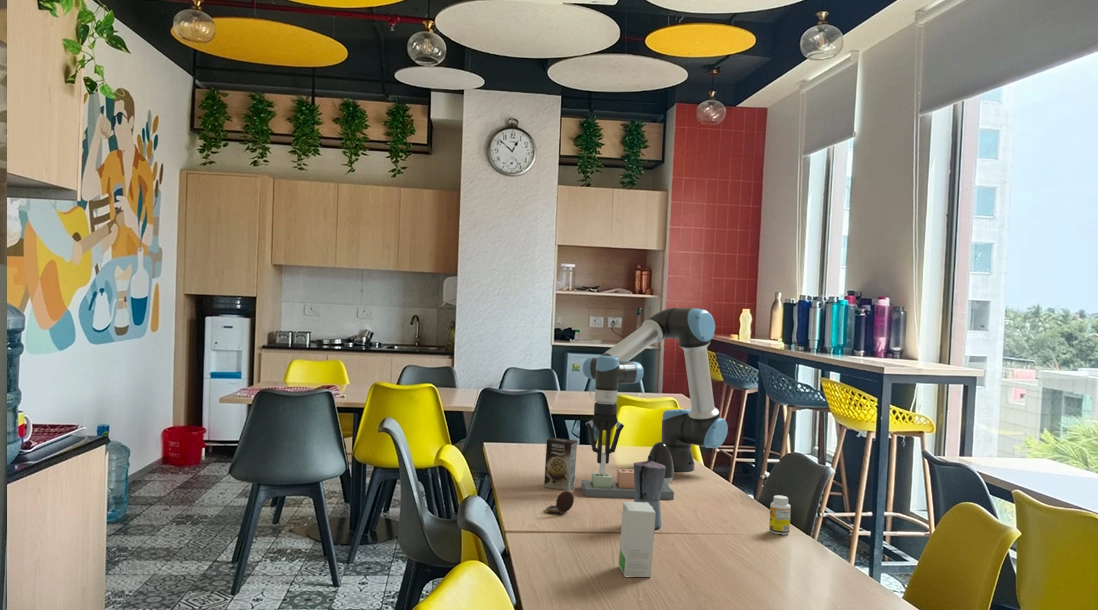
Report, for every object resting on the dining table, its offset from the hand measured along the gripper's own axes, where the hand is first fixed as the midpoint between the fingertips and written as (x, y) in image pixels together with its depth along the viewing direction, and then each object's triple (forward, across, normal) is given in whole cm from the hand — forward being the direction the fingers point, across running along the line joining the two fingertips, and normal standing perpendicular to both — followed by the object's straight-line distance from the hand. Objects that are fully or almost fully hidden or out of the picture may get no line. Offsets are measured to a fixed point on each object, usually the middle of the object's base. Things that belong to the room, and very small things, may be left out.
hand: (602, 473), depth 267 cm
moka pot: (+7, +7, -40) cm, 41 cm away
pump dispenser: (+7, +22, +15) cm, 28 cm away
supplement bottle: (+7, +45, -42) cm, 62 cm away
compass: (+7, -18, -29) cm, 34 cm away
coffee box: (+7, -14, +6) cm, 16 cm away
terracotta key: (+4, +8, 0) cm, 9 cm away
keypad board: (+7, +8, 0) cm, 11 cm away
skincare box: (+7, -3, -80) cm, 80 cm away
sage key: (+6, 0, 0) cm, 6 cm away
